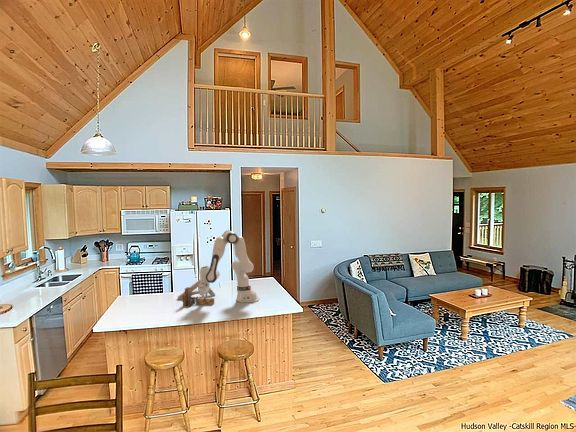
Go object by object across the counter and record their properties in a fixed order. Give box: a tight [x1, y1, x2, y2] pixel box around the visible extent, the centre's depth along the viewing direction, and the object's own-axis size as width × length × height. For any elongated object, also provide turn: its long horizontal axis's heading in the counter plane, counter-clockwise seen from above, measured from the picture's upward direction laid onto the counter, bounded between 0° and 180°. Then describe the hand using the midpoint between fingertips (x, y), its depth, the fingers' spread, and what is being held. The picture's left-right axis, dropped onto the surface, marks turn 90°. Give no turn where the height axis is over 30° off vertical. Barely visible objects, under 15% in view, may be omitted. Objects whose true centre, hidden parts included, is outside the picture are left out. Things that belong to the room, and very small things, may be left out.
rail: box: [195, 296, 215, 305], centre depth 317 cm, size 17×4×6 cm, turn 85°
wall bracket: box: [177, 279, 216, 300], centre depth 339 cm, size 22×4×30 cm
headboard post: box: [182, 286, 196, 308], centre depth 315 cm, size 7×16×16 cm, turn 175°
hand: (204, 297), depth 315 cm, fingers open, 8 cm apart
